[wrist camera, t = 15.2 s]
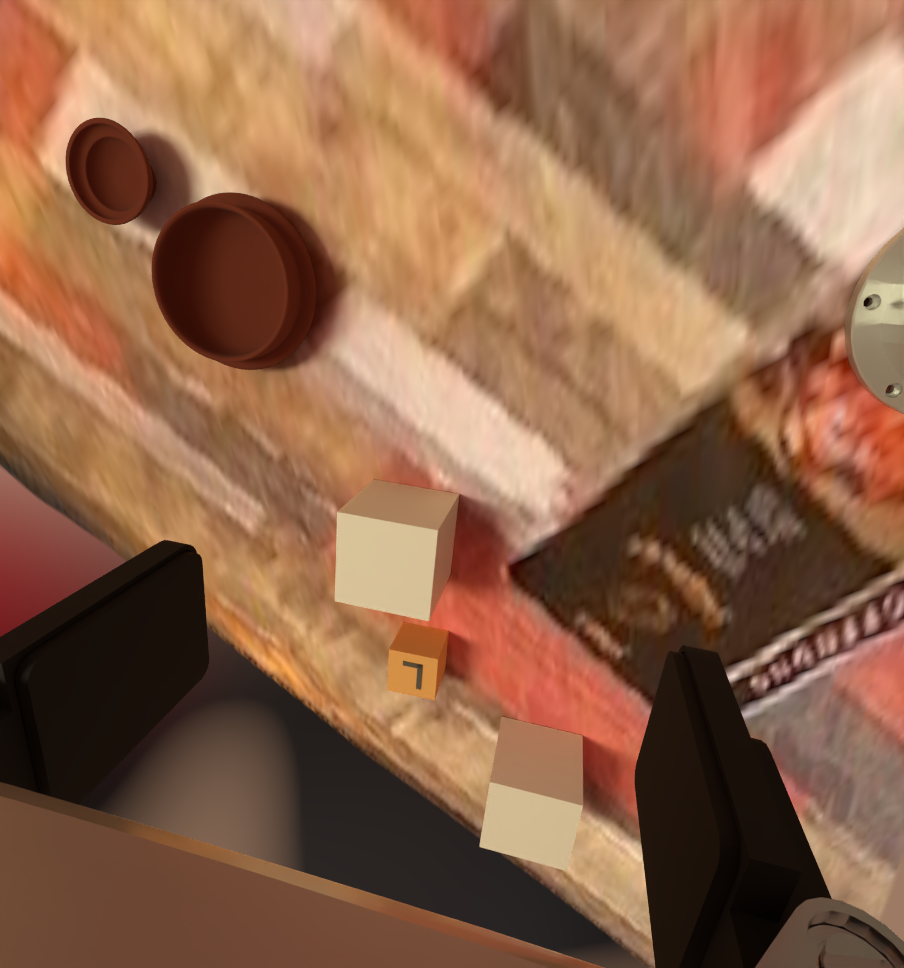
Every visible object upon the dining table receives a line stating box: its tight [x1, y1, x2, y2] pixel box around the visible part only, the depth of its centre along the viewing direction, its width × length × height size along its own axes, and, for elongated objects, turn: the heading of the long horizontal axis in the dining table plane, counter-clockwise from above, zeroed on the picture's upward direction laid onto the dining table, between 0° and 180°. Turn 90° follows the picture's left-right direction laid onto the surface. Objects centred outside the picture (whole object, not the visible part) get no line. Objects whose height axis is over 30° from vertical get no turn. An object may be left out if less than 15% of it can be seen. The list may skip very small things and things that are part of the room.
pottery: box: [66, 118, 316, 370], centre depth 38 cm, size 12×20×4 cm, turn 50°
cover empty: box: [480, 717, 583, 871], centre depth 46 cm, size 7×7×7 cm
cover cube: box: [335, 479, 459, 621], centre depth 41 cm, size 7×7×7 cm
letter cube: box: [387, 622, 449, 700], centre depth 46 cm, size 4×4×4 cm
